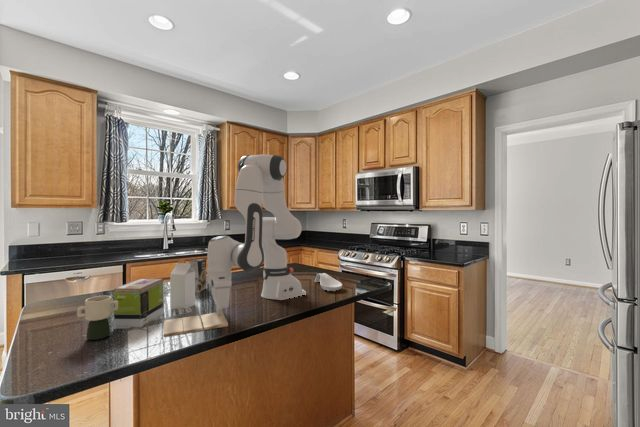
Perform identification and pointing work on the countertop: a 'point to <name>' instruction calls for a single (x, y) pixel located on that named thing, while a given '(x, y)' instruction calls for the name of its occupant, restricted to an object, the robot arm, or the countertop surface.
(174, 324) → the laid floor
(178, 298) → the milk carton
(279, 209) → the robot arm
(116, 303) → the character mug
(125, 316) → the tea box
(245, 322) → the countertop surface
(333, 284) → the spoon rest
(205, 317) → the board
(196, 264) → the coffee box
